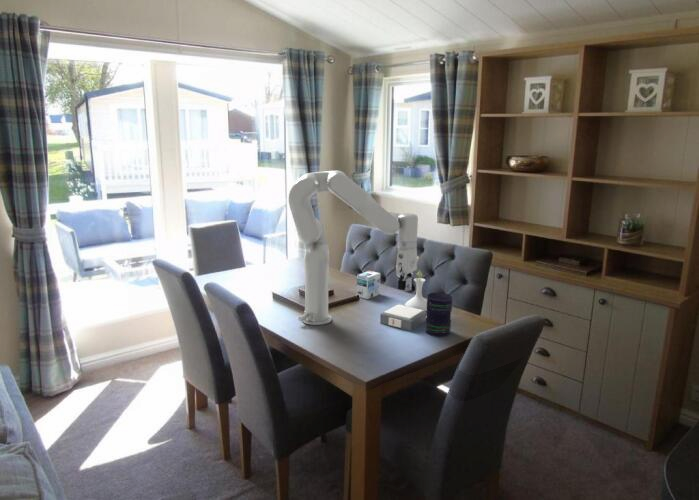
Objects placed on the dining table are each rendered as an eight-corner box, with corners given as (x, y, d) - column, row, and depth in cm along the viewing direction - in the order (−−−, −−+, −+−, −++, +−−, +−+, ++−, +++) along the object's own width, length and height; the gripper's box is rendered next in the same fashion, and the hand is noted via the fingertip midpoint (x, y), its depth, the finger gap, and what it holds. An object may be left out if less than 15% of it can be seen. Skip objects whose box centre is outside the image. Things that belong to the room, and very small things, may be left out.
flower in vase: (411, 303, 242) (414, 250, 237) (434, 308, 237) (438, 254, 231) (399, 311, 231) (401, 256, 226) (423, 316, 226) (426, 260, 220)
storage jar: (455, 332, 209) (457, 296, 206) (440, 339, 202) (442, 302, 199) (434, 325, 216) (437, 290, 213) (419, 331, 209) (421, 295, 206)
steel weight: (407, 291, 212) (408, 279, 211) (396, 289, 215) (397, 277, 214) (413, 288, 217) (413, 277, 215) (402, 286, 219) (403, 274, 218)
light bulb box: (367, 299, 246) (368, 277, 244) (355, 296, 250) (356, 274, 248) (380, 294, 254) (381, 272, 252) (368, 291, 258) (369, 270, 256)
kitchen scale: (409, 331, 209) (410, 320, 208) (379, 323, 217) (379, 312, 215) (425, 320, 221) (426, 309, 220) (396, 313, 229) (397, 303, 227)
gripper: (405, 249, 203) (403, 294, 207) (424, 242, 216) (422, 284, 221) (388, 246, 207) (386, 291, 211) (408, 239, 220) (406, 281, 225)
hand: (405, 287), depth 216 cm, fingers closed on steel weight, 5 cm apart
